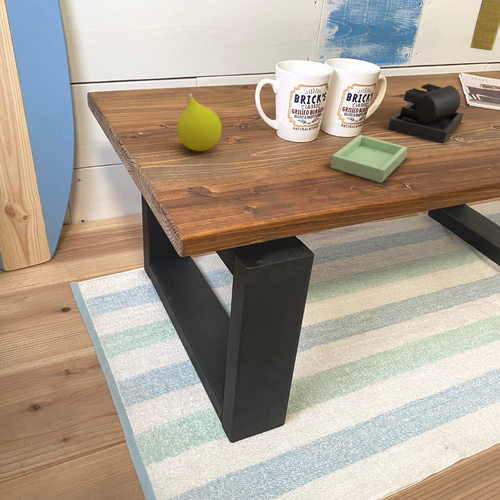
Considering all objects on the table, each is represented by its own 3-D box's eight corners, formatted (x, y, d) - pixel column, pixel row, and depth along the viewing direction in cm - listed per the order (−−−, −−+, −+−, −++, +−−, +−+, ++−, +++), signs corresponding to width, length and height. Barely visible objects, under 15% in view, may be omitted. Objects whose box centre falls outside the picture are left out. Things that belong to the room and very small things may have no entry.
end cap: (429, 134, 95) (439, 98, 91) (397, 122, 99) (405, 88, 95) (454, 123, 101) (465, 89, 98) (423, 113, 105) (431, 79, 102)
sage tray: (404, 158, 86) (407, 147, 85) (381, 183, 78) (384, 170, 77) (357, 145, 90) (359, 134, 89) (330, 167, 81) (332, 155, 80)
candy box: (470, 40, 103) (495, -48, 95) (492, 43, 102) (520, -45, 93) (467, 47, 96) (494, -46, 88) (492, 51, 95) (521, -44, 86)
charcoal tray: (460, 123, 103) (463, 113, 102) (443, 143, 94) (446, 132, 92) (409, 111, 108) (411, 101, 106) (387, 129, 98) (390, 118, 97)
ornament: (177, 140, 87) (176, 81, 81) (219, 141, 87) (221, 82, 82) (176, 158, 81) (175, 95, 75) (221, 158, 82) (223, 96, 76)
